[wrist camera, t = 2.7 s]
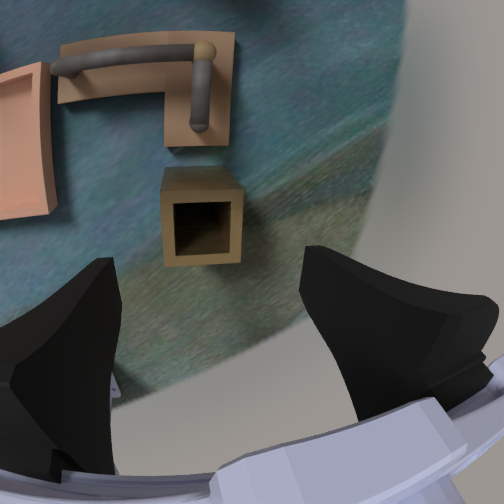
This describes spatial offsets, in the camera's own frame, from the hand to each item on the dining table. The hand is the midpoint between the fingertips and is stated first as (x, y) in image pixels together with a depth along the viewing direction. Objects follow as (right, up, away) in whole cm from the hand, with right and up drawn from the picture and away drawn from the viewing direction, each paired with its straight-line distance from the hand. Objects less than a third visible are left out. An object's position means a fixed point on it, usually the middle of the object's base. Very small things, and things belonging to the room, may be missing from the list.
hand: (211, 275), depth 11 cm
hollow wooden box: (-2, +5, +9) cm, 10 cm away
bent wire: (-6, +11, +5) cm, 13 cm away
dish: (-17, +8, +3) cm, 19 cm away
